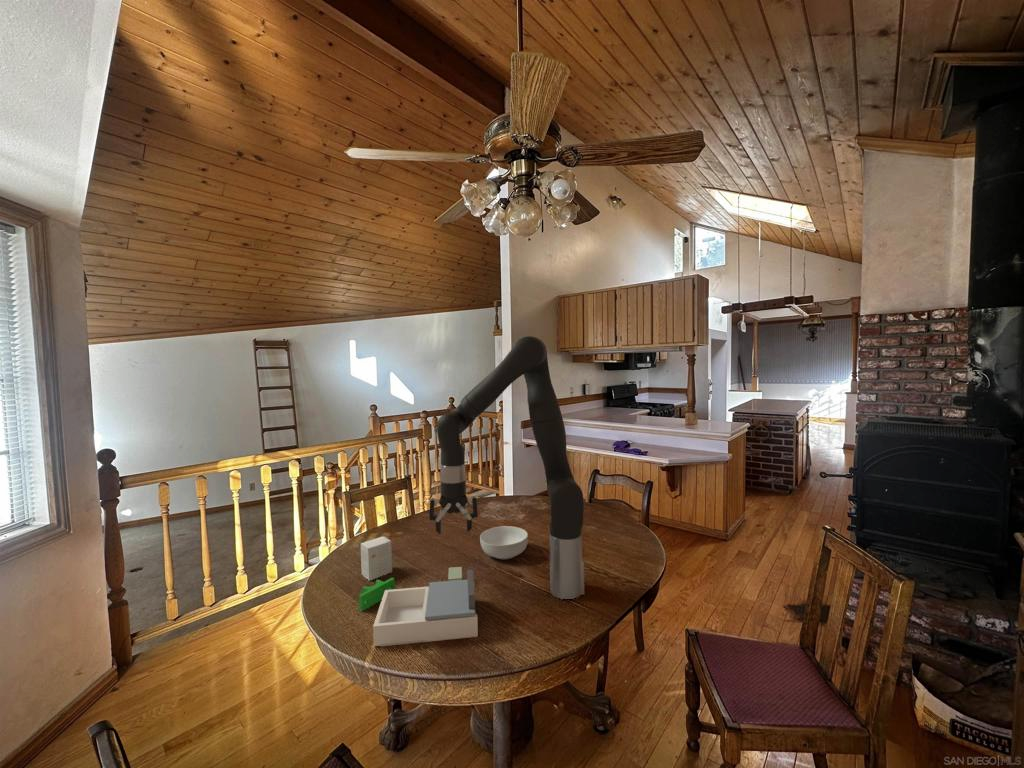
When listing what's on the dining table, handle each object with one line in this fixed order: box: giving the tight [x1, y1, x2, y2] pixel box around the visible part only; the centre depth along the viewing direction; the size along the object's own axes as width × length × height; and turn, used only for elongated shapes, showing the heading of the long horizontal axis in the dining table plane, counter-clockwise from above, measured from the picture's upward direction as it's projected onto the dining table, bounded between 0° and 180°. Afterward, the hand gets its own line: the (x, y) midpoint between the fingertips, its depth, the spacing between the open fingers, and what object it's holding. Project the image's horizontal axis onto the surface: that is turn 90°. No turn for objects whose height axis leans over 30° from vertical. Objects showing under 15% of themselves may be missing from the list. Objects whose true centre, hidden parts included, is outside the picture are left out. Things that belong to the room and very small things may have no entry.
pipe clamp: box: [358, 577, 396, 612], centre depth 116 cm, size 11×4×5 cm, turn 145°
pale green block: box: [447, 566, 463, 581], centre depth 124 cm, size 4×7×4 cm, turn 8°
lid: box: [425, 569, 476, 620], centre depth 106 cm, size 12×16×4 cm
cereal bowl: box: [479, 525, 529, 560], centre depth 144 cm, size 17×17×7 cm
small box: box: [360, 535, 393, 582], centre depth 131 cm, size 8×6×10 cm
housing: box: [372, 582, 479, 647], centre depth 106 cm, size 24×16×5 cm, turn 98°
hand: (453, 532), depth 123 cm, fingers open, 8 cm apart
